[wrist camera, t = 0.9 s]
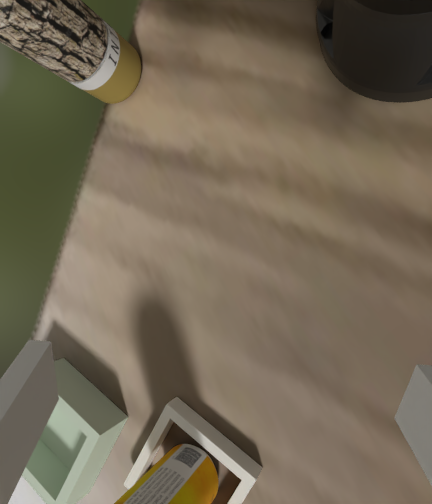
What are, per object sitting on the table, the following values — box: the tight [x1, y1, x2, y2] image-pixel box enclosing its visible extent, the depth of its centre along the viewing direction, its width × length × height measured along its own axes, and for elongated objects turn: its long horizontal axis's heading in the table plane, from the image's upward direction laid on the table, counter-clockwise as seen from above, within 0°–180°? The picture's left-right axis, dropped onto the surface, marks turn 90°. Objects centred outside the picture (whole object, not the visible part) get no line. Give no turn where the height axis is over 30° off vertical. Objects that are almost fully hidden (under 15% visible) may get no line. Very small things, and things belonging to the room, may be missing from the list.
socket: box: [22, 358, 128, 504], centre depth 40 cm, size 11×11×4 cm
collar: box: [124, 397, 263, 504], centre depth 35 cm, size 10×10×2 cm
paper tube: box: [0, 0, 141, 104], centre depth 29 cm, size 7×7×25 cm
